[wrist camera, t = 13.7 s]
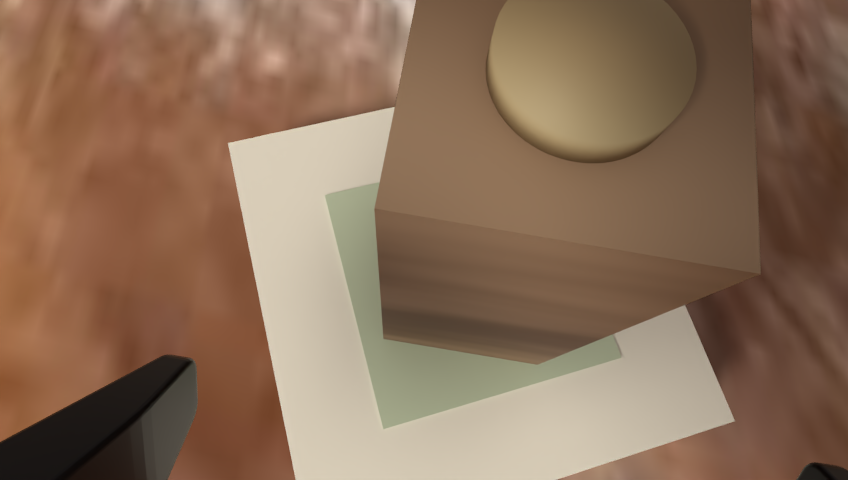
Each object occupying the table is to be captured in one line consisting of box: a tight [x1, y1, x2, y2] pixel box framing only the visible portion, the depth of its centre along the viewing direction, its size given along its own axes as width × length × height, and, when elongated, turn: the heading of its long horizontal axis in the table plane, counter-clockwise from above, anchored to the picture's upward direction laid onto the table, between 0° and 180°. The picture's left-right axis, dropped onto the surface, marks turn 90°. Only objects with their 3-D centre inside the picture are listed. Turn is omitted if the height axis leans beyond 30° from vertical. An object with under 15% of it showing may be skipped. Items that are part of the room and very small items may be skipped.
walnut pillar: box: [374, 0, 761, 365], centre depth 11 cm, size 4×4×10 cm
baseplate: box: [228, 107, 735, 480], centre depth 18 cm, size 12×12×3 cm
